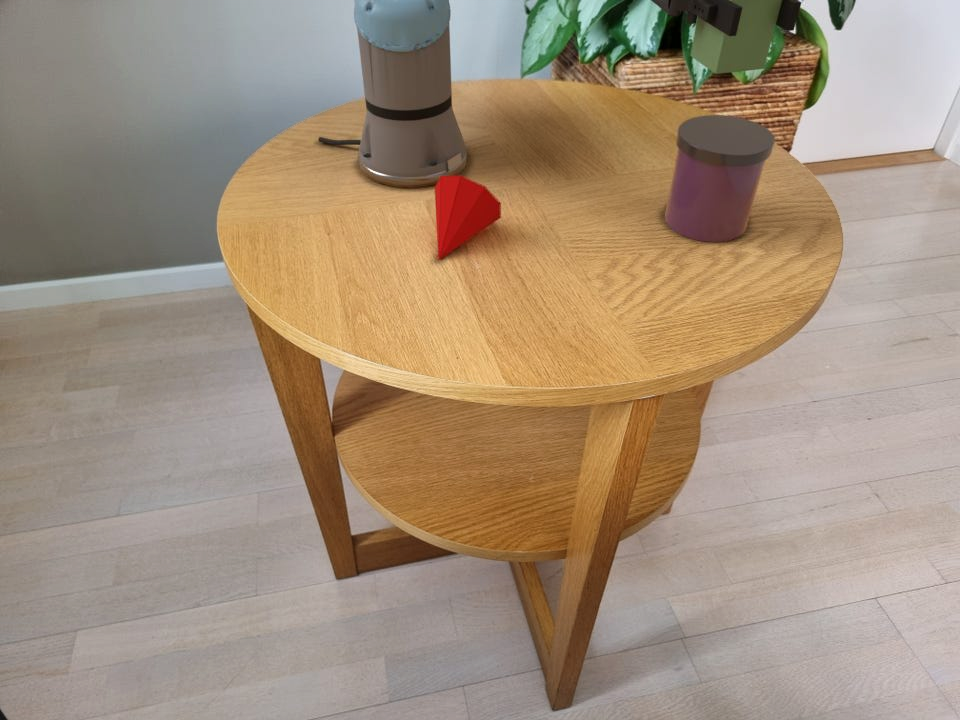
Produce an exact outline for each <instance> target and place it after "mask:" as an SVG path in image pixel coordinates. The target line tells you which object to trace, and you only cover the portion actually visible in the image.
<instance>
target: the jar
mask: <svg viewBox="0 0 960 720" xmlns="http://www.w3.org/2000/svg"><path fill="white" fill-rule="evenodd" d="M675 142H676V147H677V149H676V156H675V161H674V167H673V171H672V176H671V182H670V187H669V190H668V191H669V192H668V195H667V196H668V197H667V202H666V207H665V213H664V221H665V223H666V225H667V226H668V227H669V228H670V229H671V230H672V231H674V232H676V233H677V234H678V235H681V236H682V237H685V238H688V239H692V240H694V241H695V240H696V241H700V242H708V243H723V242H728V241H732V240H735V239H738V238H740V236H742V235H743V234H744V233H745V232H746V229H747V227H748V223H749V220H750V216H751V212H752V209H753V206H754V202H755V199H756V196H757V192H758V188H759V184H760V181H761V178H762V175H763V171H764V167H765V164H766V160H768V159H769V158H770V157H771V155H772V153H773V149H774V147H775V143H776V139H775V135H774V134H773V132H772V131H771V130H769V129H768V127H765V125H762V124H760V123H757V122H755V121H752V120H750V119H746V118H743V117H738V116H732V115H724V114H707V115H699V116H694V117H691V118H688V119H685V120H684V121H683V122H681V124H679V126H678V128H677V132H676V138H675Z"/></svg>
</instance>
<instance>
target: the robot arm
mask: <svg viewBox="0 0 960 720" xmlns="http://www.w3.org/2000/svg"><path fill="white" fill-rule="evenodd" d="M353 1H354V7H353V19H354V23H355V26H356V30H357V38H358V39H357V40H358V47H359V55H360V56H359V57H360V58H359V59H360V65H361V75H362V83H363V84H362V85H363V91H364V99H365V100H364V101H365V109H366V114H365V119H364V123H363V128H362V133H361V136H360V137H361V138H360V139H332V138H331V139H330V138H327V137H322V136H319V137H318V142H319V143H323V144H327V145H331V146H333V145H334V146H359V148H358V161H359V162H358V163H359V168H360V170H361V172H362V173H363V175H364V176H366V178H368V179H370V180H371V181H374V182H377V183H379V184H382V185H386V186H391V187H399V188H419V187H427V186H433V185H436V184H437V182H438V180H439V178H440V176H447V177H454V175H460V173H461V172H462V171H463V170H464V169H465V168H466V165H467V147H466V143H465V140H464V136H463V134H462V132H461V129H460V127H459V123H458V120H457V118H456V115H455V113H454V109H453V95H452V94H453V93H452V92H453V91H452V90H453V89H452V64H451V63H452V62H451V61H452V60H451V37H450V36H451V33H450V32H451V30H450V21H451V5H450V4H451V3H450V0H353ZM650 1H651V2H652V3H654V4H655V5H656V6H657V7H659V8H660V9H661V10H663V11H664V12H665V13H666V14H668V15H669V16H672V17H679V16H681V12H684V13H685V15H686V16H685V23H686V24H689V25H693V24H695V25H696V23H697V18H698V17H699V18H701V19H702V20H704V21H705V22H707V23H709V24H710V25H712V26H713V27H715V28H717V29H718V30H720V31H722V32H723V33H725V34H726V35H728V36H736V34H737V30H738V25H739V21H740V17H741V12H742V8H743V7H741V6H739V5H737V4H735V3H733V2H732V1H730V0H650ZM801 6H802V1H800V0H782V3H781V7H780V10H779V14H778V18H777V22H776V25H775V26H778V27H779V28H781V29H782V30H784V31H787V32H791V31H794V30H795V27H796V23H797V20H798V17H799V14H800V10H801Z"/></svg>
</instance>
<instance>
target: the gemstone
mask: <svg viewBox="0 0 960 720" xmlns="http://www.w3.org/2000/svg"><path fill="white" fill-rule="evenodd" d="M434 203H435V204H434V205H435V221H436V223H435V224H436V240H437V260H438V261H440V260H441V259H443V258H444V257H445V256H447V255H448V254H450V253H451V252H453V251H454V250H456V249H457V248H458V247H459V248H460V246H462V245H463V244H464V243H466V242H467V241H469V240H470V239H472V238H473V237H475V236H476V235H478V234H479V233H480V232H482V231H483V230H485V229H486V228H488V227H489V226H491V225H492V224H494V223H496V222H497V221H498V220H500V219H501V218H502V203H501V202H500V200H499V199H498V198H497V197H496V196H495V195H494V194H493V193H492V192H491V190H490V189H489V188H488V187H487V186H486V185H483V184H481V183H479V182H476V181H475V180H472V179H470V178H468V177H466V176H463V175H460V174H458V175H454V177H447V176H440V178H439V180H438V182H437V184H435V186H434Z"/></svg>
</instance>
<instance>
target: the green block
mask: <svg viewBox="0 0 960 720" xmlns="http://www.w3.org/2000/svg"><path fill="white" fill-rule="evenodd" d="M730 1H732V2H733V3H735V4H737V5H739V6H741V7H743V8H742V12H741V17H740V21H739V25H738V30H737V34H736V36H728V35H726V34H725V33H723V32H722V31H720V30H718V29H717V28H715V27H713V26H712V25H710V24H709V23H707V22H705V21H704V20H702V19H701V18H699V17H698V16H697V22H696V23H695V29H694V34H693V35H694V36H693V40H692V45H691V49H690V54H689V56H690V57H691V58H692V59H694V60H695V61H697V62H698V63H699V64H701V65H702V66H704V67H705V68H706V69H708V70H709V71H711V72H712V73H713V74H715V75H719V74H729V73H739V72H748V71H756V70H757V71H758V70H764V69H765V66H766V63H767V59H768V57H769V56H768V55H769V52H770V48H771V44H772V41H773V36H774V34H775V28H776V26H777V25H776V22H777V18H778V14H779V10H780V7H781V3H782V0H730Z"/></svg>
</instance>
